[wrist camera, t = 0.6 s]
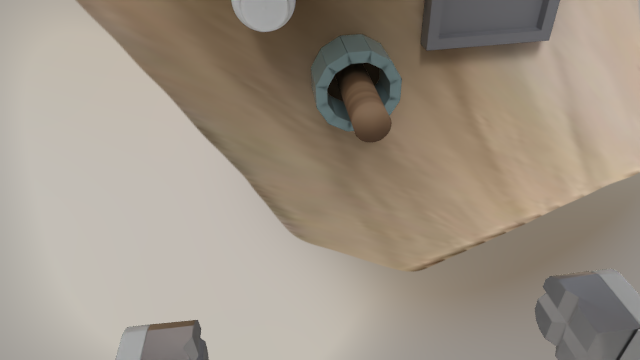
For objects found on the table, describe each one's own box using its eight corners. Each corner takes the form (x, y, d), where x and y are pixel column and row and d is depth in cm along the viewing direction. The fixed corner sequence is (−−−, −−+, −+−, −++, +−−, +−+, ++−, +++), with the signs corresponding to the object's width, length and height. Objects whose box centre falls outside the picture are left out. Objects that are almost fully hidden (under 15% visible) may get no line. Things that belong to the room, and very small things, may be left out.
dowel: (335, 60, 51) (354, 110, 41) (366, 58, 51) (392, 107, 42) (335, 89, 53) (353, 144, 43) (365, 87, 53) (390, 140, 44)
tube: (309, 38, 49) (314, 55, 45) (391, 31, 50) (404, 48, 46) (313, 113, 54) (317, 134, 50) (387, 106, 55) (397, 126, 51)
